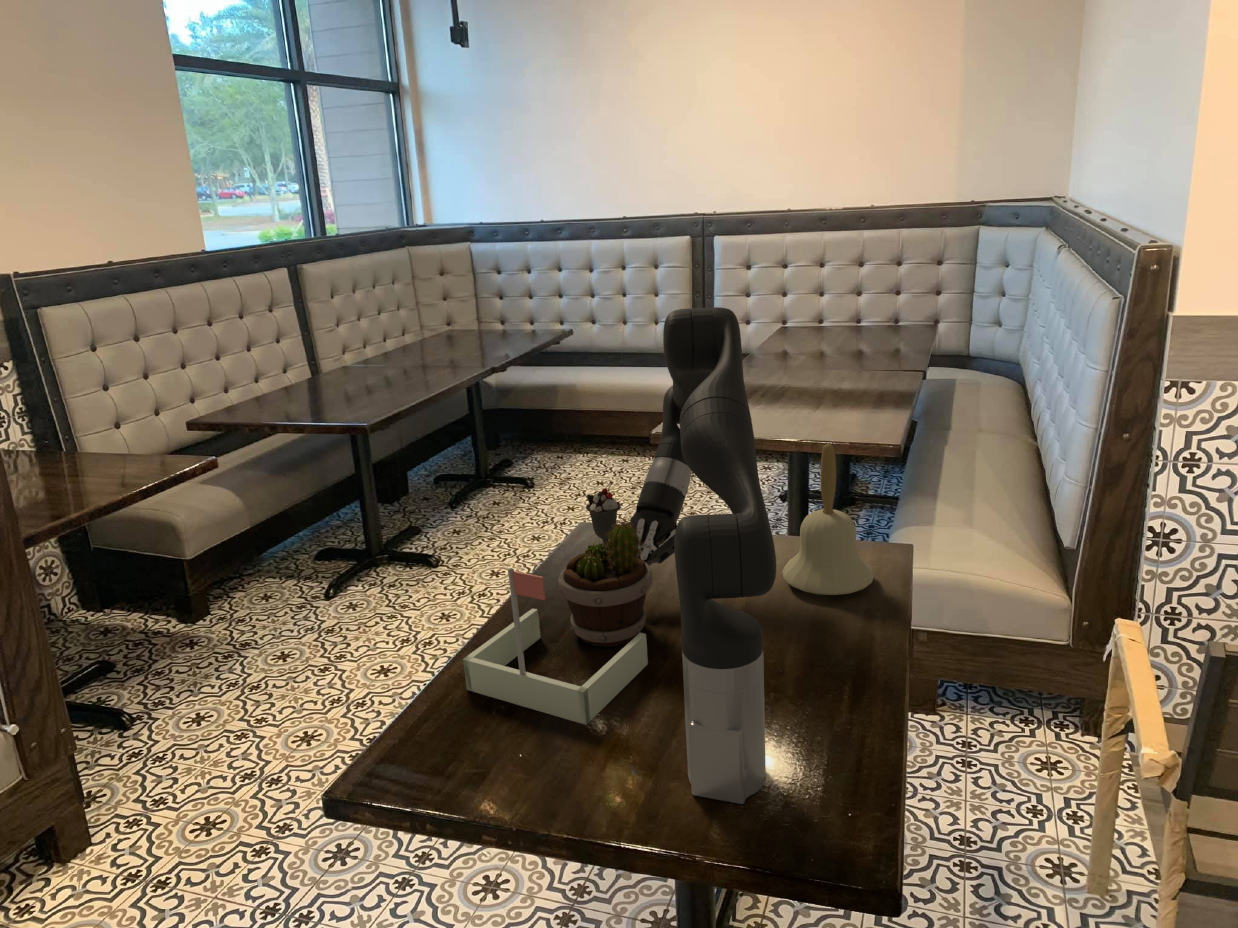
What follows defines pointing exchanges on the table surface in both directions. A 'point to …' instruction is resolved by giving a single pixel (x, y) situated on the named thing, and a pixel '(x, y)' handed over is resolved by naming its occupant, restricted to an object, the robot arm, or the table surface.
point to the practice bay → (538, 691)
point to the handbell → (828, 545)
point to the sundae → (603, 513)
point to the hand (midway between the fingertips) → (634, 582)
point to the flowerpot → (608, 589)
